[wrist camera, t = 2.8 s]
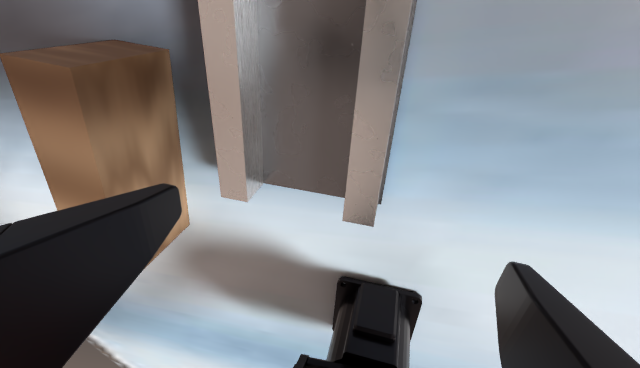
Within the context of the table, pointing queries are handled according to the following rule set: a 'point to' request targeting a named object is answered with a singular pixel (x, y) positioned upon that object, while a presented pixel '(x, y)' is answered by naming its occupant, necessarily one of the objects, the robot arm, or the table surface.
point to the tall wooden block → (100, 120)
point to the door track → (306, 94)
